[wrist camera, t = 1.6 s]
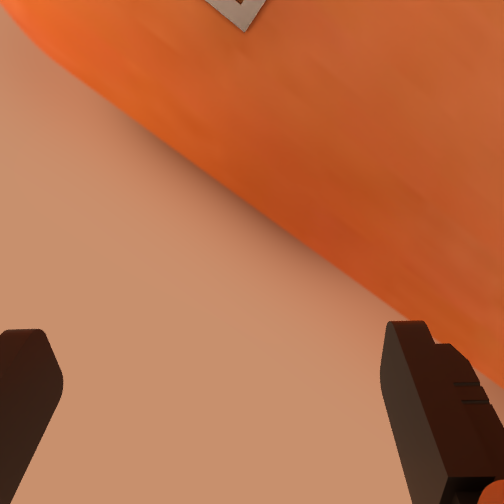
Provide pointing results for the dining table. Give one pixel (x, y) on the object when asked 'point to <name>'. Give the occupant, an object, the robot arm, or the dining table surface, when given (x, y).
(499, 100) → the dining table surface
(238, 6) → the table dock
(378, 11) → the dining table surface
